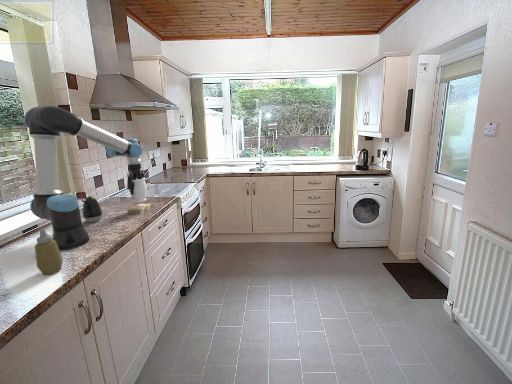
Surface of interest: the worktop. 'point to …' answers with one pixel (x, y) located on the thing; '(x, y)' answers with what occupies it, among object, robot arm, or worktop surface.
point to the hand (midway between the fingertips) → (139, 196)
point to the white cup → (140, 190)
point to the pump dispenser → (91, 209)
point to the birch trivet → (140, 208)
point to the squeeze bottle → (47, 254)
